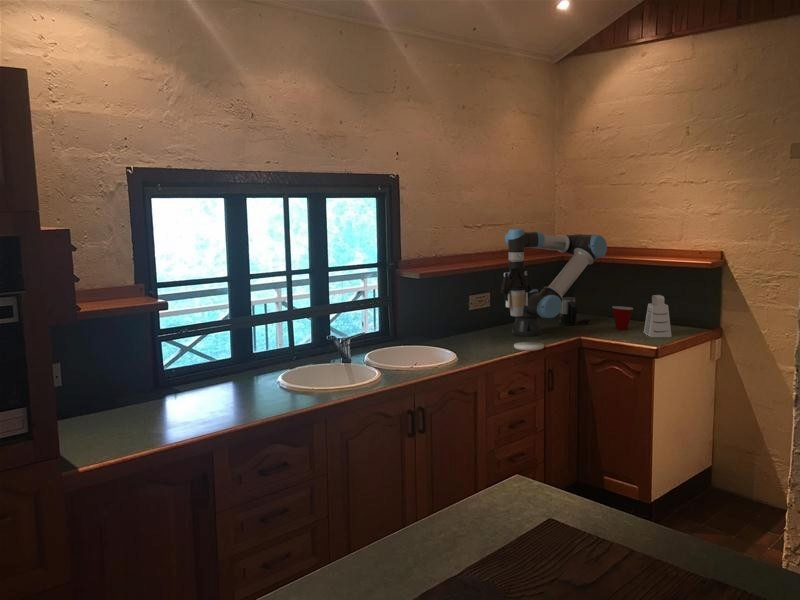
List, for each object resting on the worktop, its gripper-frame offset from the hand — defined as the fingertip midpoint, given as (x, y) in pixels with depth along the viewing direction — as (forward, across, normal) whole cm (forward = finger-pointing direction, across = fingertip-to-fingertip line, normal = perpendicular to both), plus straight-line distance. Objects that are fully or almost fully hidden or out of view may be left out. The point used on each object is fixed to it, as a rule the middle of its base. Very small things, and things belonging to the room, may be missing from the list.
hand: (516, 306), depth 338 cm
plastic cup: (+18, +66, +1) cm, 68 cm away
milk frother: (+18, +54, +26) cm, 63 cm away
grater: (+18, +70, -21) cm, 75 cm away
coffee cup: (+5, 0, 0) cm, 5 cm away
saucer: (+18, -3, -15) cm, 23 cm away
